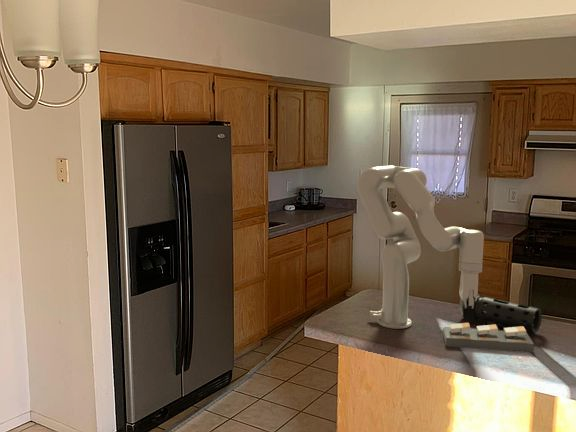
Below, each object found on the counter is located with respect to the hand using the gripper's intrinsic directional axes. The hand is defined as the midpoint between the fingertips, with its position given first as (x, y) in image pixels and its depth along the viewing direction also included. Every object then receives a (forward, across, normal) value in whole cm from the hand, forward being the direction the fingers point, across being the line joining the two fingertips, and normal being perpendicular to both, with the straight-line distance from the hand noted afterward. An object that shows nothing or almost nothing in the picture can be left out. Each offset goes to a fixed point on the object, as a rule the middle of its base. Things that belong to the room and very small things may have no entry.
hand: (467, 318), depth 196 cm
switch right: (+4, 0, +16) cm, 16 cm away
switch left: (+4, 0, -2) cm, 4 cm away
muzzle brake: (+9, -19, +14) cm, 25 cm away
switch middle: (+4, 0, +6) cm, 7 cm away
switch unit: (+9, 0, +6) cm, 11 cm away
